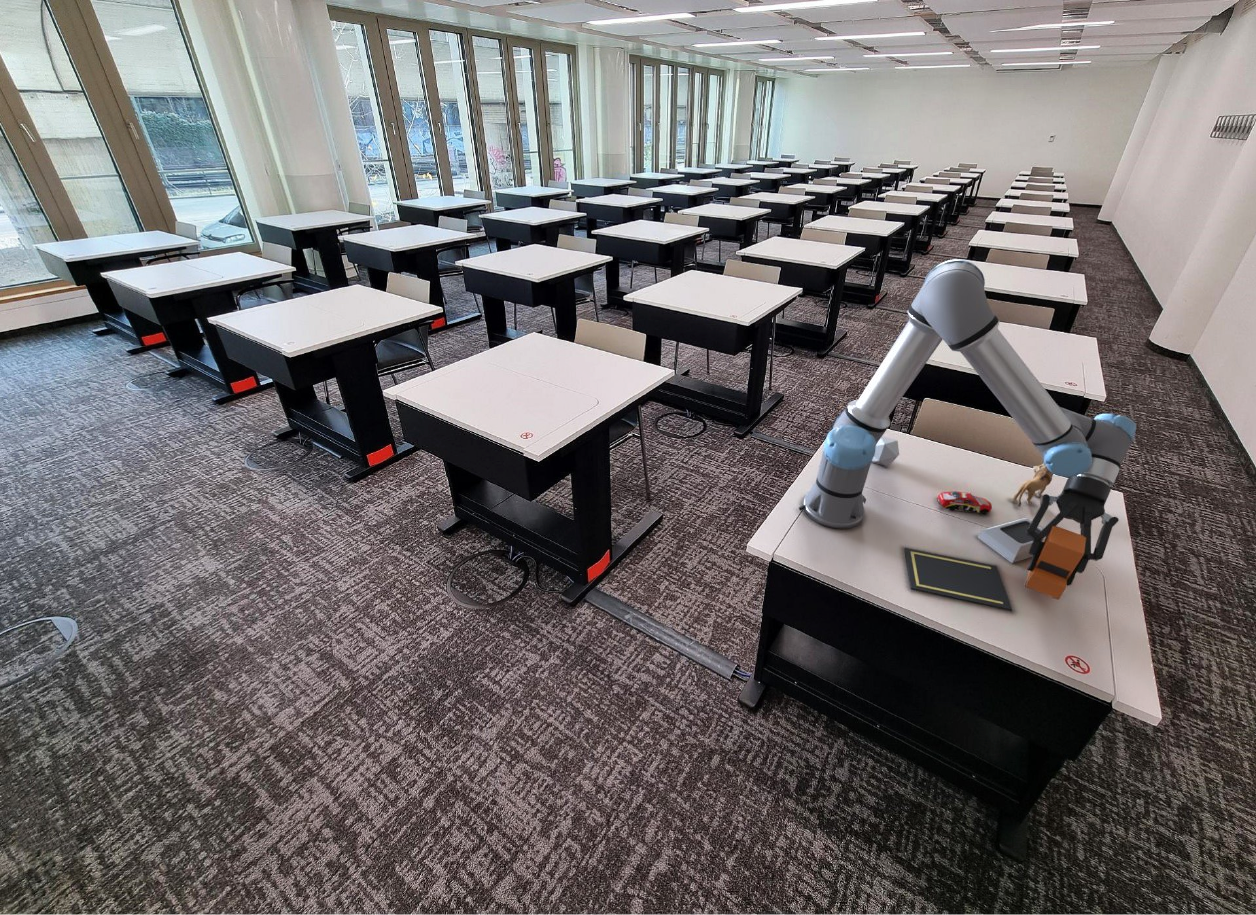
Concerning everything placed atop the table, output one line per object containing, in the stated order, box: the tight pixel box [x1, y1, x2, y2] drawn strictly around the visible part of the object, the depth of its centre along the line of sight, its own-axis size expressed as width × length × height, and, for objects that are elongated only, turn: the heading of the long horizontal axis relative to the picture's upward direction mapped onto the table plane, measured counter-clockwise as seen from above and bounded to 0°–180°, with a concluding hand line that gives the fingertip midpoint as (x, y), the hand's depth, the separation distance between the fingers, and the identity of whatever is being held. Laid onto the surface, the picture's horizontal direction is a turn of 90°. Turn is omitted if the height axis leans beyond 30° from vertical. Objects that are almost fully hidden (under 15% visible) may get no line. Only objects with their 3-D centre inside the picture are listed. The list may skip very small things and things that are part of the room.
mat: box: [903, 547, 1013, 612], centre depth 122 cm, size 20×14×1 cm
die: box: [871, 435, 900, 468], centre depth 161 cm, size 8×9×10 cm
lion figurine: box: [1011, 462, 1054, 508], centre depth 146 cm, size 15×5×9 cm, turn 131°
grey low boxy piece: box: [977, 517, 1047, 564], centre depth 132 cm, size 10×4×15 cm
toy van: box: [1024, 525, 1086, 601], centre depth 115 cm, size 10×6×12 cm, turn 141°
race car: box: [936, 490, 993, 516], centre depth 144 cm, size 13×5×4 cm, turn 76°
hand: (1048, 576), depth 115 cm, fingers closed on toy van, 6 cm apart
